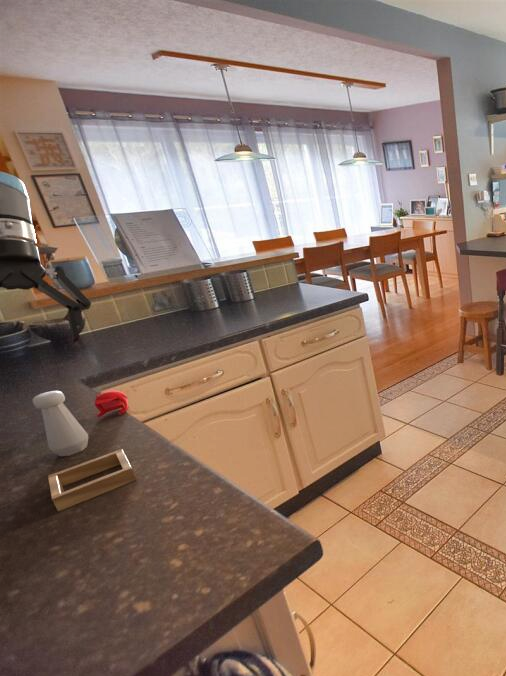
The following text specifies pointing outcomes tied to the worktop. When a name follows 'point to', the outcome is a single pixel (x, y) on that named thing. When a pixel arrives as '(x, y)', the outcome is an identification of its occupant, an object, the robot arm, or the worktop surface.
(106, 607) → the worktop surface
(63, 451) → the salt shaker
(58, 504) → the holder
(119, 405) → the cap
